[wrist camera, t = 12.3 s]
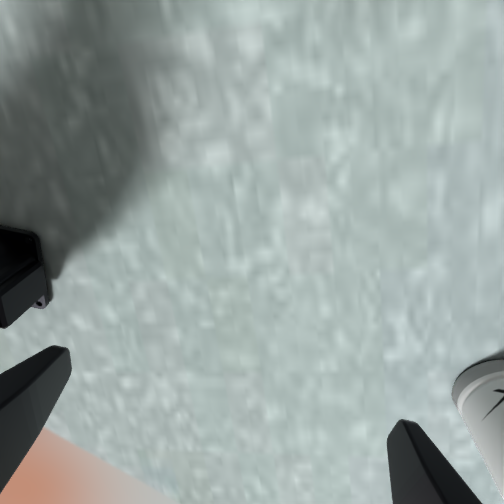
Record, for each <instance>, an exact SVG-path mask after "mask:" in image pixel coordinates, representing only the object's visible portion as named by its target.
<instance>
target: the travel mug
mask: <svg viewBox="0 0 504 504" xmlns="http://www.w3.org/2000/svg"><path fill="white" fill-rule="evenodd" d="M452 399H453V401H454V403H455V405H456V407H457V409H458V411H459V413H460V415H461V416H462V419H463V421H464V423H465V425H466V427H467V429H468V431H469V433H470V435H471V437H472V439H473V441H474V443H475V445H476V447H477V449H478V451H479V453H480V455H481V456H482V458H483V460H484V462H485V464H486V466H487V468H488V470H489V472H490V474H491V476H492V478H493V480H494V482H495V484H496V486H497V488H498V490H499V492H500V494H501V496H502V498H503V500H504V359H501V360H493V361H488V362H484V363H481V364H478V365H476V366H474V367H472V368H470V369H468V370H467V371H465V372H464V373H463V374H462V375H460V376H459V377H458V379H457V380H456V381H455V383H454V385H453V388H452Z"/></svg>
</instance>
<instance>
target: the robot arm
mask: <svg viewBox="0 0 504 504" xmlns="http://www.w3.org/2000/svg"><path fill="white" fill-rule="evenodd" d="M29 238H30V239H31V240H32V241H31V240H30V239H29ZM48 304H49V299H48V293H47V286H46V279H45V272H44V266H43V260H42V253H41V247H40V240H39V237H38V236H37V235H36V234H35V233H33V232H30V231H25V230H21V229H16V228H11V227H6V226H2V225H0V328H3V329H5V328H7V327H8V326H10V325H11V324H12V323H13V322H14V321H15V320H17V319H18V318H19V317H20V316H21V315H22V314H23V313H24V312H25V311H27V310H28V309H29V308H30V307H34V308H38V309H44V308H45V307H46V306H47V305H48ZM71 371H72V366H71V358H70V351H69V349H68V348H66V347H61V346H56V345H53V346H50V347H48V348H46V349H44V350H42V351H41V352H39V353H37V354H35V355H34V356H32V357H30V358H28V359H26V360H25V361H23V362H21V363H19V364H17V365H16V366H14V367H12V368H10V369H9V370H7V371H5V372H3V373H1V374H0V493H1V492H2V490H3V489H4V487H5V486H6V484H7V483H8V481H9V480H10V478H11V477H12V475H13V474H14V472H15V471H16V469H17V468H18V466H19V465H20V463H21V461H22V460H23V458H24V457H25V455H26V454H27V452H28V451H29V449H30V448H31V446H32V445H33V443H34V441H35V440H36V438H37V437H38V435H39V434H40V432H41V430H42V428H43V426H44V425H45V423H46V421H47V419H48V417H49V415H50V413H51V411H52V410H53V408H54V406H55V404H56V402H57V400H58V398H59V396H60V394H61V393H62V391H63V389H64V387H65V385H66V383H67V381H68V379H69V377H70V375H71ZM387 452H388V462H389V471H390V481H391V491H392V500H393V504H482V503H481V502H480V500H479V499H478V498H477V497H476V495H475V494H474V493H473V492H472V490H471V489H470V488H469V487H468V485H467V484H466V483H465V482H464V480H463V479H462V478H461V477H460V475H459V474H458V473H457V472H456V471H455V469H454V468H453V467H452V466H451V464H450V463H449V462H448V461H447V459H446V458H445V457H444V456H443V454H442V453H441V452H440V451H439V449H438V448H437V447H436V446H435V444H434V443H433V442H432V441H431V439H430V438H429V437H428V436H427V434H426V433H425V432H424V431H423V430H422V428H421V427H420V426H419V425H418V424H417V423H416V422H413V421H409V420H404V419H401V420H399V421H398V422H397V423H396V425H395V426H394V428H393V429H392V431H391V432H390V434H389V436H388V438H387Z"/></svg>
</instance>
